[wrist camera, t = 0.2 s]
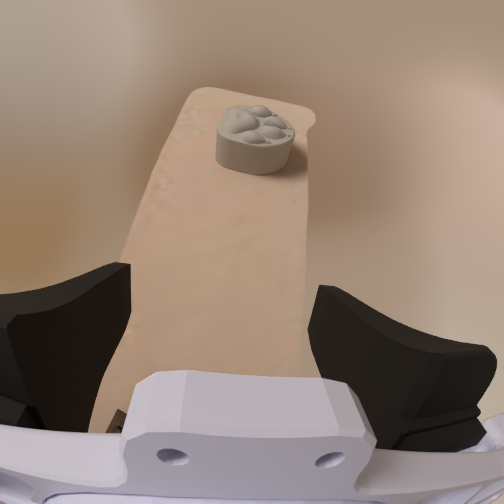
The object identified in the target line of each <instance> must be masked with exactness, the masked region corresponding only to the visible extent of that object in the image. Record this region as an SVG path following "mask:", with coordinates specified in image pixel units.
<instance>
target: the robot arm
mask: <svg viewBox="0 0 504 504" xmlns="http://www.w3.org/2000/svg"><path fill="white" fill-rule="evenodd" d="M130 314H131V264H126V263H117V262H114V263H110V264H108V265H105V266H102V267H100V268H97V269H95V270H92V271H90V272H88V273H85V274H83V275H80V276H78V277H75V278H73V279H70V280H67V281H65V282H62V283H59V284H55V285H52V286H48V287H45V288H41V289H36V290H31V291H25V292H20V293H12V294H0V504H490V503H492V502H493V501H495V500H496V499H497V498H499V497H500V496H501V495H502V494H503V493H504V413H501V414H499V415H496V416H493V417H490V418H488V419H486V420H485V421H484V422H482V423H480V421H479V420H478V419H477V417H478V416H479V415H480V414H481V411H480V409H479V408H478V407H477V404H478V402H479V401H480V399H481V398H482V396H483V395H484V393H485V391H486V390H487V388H488V387H489V385H490V383H491V381H492V379H493V377H494V374H495V371H496V368H497V359H496V356H495V355H494V353H493V352H492V351H491V350H490V349H489V348H488V347H486V346H484V345H478V344H470V343H463V342H457V341H453V340H448V339H444V338H440V337H437V336H433V335H430V334H427V333H424V332H421V331H418V330H416V329H413V328H411V327H408V326H406V325H404V324H402V323H399V322H397V321H395V320H393V319H391V318H389V317H387V316H385V315H384V314H382V313H380V312H378V311H376V310H375V309H373V308H371V307H369V306H368V305H366V304H365V303H363V302H361V301H360V300H358V299H357V298H355V297H353V296H352V295H350V294H348V293H347V292H345V291H343V290H341V289H339V288H337V287H335V286H327V285H319V288H318V291H317V295H316V299H315V303H314V307H313V311H312V315H311V318H310V322H309V326H308V334H309V340H310V345H311V350H312V352H313V355H314V358H315V361H316V364H317V367H318V369H319V372H320V374H321V377H322V378H294V377H267V376H249V375H235V374H223V373H212V372H202V371H193V370H179V371H163V372H155V373H154V374H152V375H151V376H149V377H147V378H146V379H144V380H142V381H141V382H139V383H137V384H136V387H135V390H134V393H133V396H132V400H131V403H130V406H129V409H128V413H127V416H126V420H125V423H124V427H123V430H122V433H88V428H89V423H90V419H91V415H92V411H93V407H94V404H95V400H96V397H97V393H98V390H99V387H100V384H101V381H102V378H103V376H104V373H105V371H106V369H107V367H108V365H109V363H110V361H111V358H112V356H113V354H114V352H115V350H116V348H117V346H118V344H119V342H120V340H121V338H122V336H123V334H124V332H125V330H126V327H127V324H128V321H129V317H130Z"/></svg>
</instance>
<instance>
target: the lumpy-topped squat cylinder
mask: <svg viewBox="0 0 504 504" xmlns="http://www.w3.org/2000/svg"><path fill="white" fill-rule="evenodd" d="M294 137H295V132H294V129H293V127H292V126H291V125H290V124H289V122H288V121H286V120H285V119H284V118H282V117H281V116H279V115H277V114H276V113H274V112H271V111H270V110H269V109H268V108H267V107H265V106H262V105H256V106H254V107H248V106H240V105H236V106H232V107H229V108H227V109H226V110H225V111H224V115H223V120H222V121H221V123H220V124H219V125H218V128H217V139H216V161H217V162H218V163H219V164H220V165H221V166H223V167H225V168H227V169H231V170H234V171H238V172H242V173H247V174H253V175H264V174H269V173H274V172H277V171H279V170H280V169H282V168H283V167H284V166H285V165H286V163H287V160H288V157H289V154H290V150H291V147H292V144H293V140H294Z"/></svg>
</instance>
